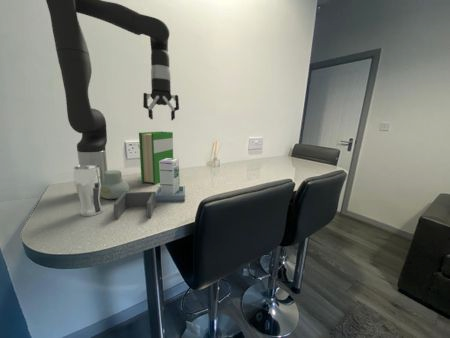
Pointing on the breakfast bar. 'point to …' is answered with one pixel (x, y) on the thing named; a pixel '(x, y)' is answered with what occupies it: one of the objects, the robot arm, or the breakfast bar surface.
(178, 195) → the tray
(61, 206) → the breakfast bar surface
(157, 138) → the hardback book
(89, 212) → the beer glass
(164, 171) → the syrup box
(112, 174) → the air freshener
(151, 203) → the dock
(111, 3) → the robot arm
